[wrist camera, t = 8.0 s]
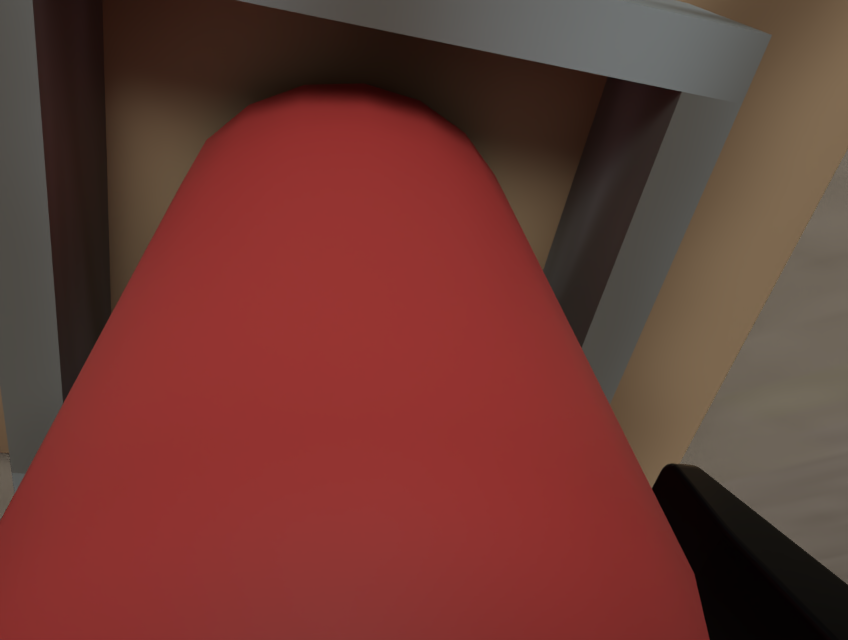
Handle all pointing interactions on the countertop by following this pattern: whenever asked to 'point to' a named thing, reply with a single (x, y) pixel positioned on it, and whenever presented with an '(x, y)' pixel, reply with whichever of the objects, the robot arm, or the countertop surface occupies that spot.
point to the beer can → (339, 416)
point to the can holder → (485, 127)
